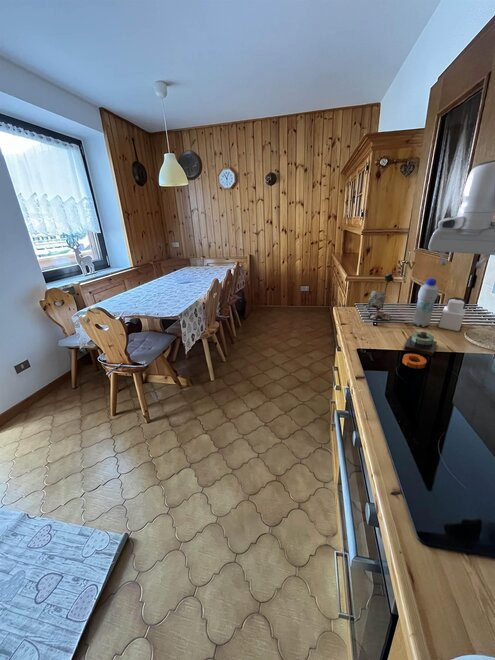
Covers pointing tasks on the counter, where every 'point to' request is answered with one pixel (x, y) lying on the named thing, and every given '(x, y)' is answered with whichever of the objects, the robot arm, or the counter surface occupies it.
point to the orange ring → (412, 364)
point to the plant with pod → (379, 301)
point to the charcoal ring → (420, 345)
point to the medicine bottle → (453, 314)
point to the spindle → (419, 350)
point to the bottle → (425, 303)
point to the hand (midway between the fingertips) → (460, 266)
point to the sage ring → (426, 341)
